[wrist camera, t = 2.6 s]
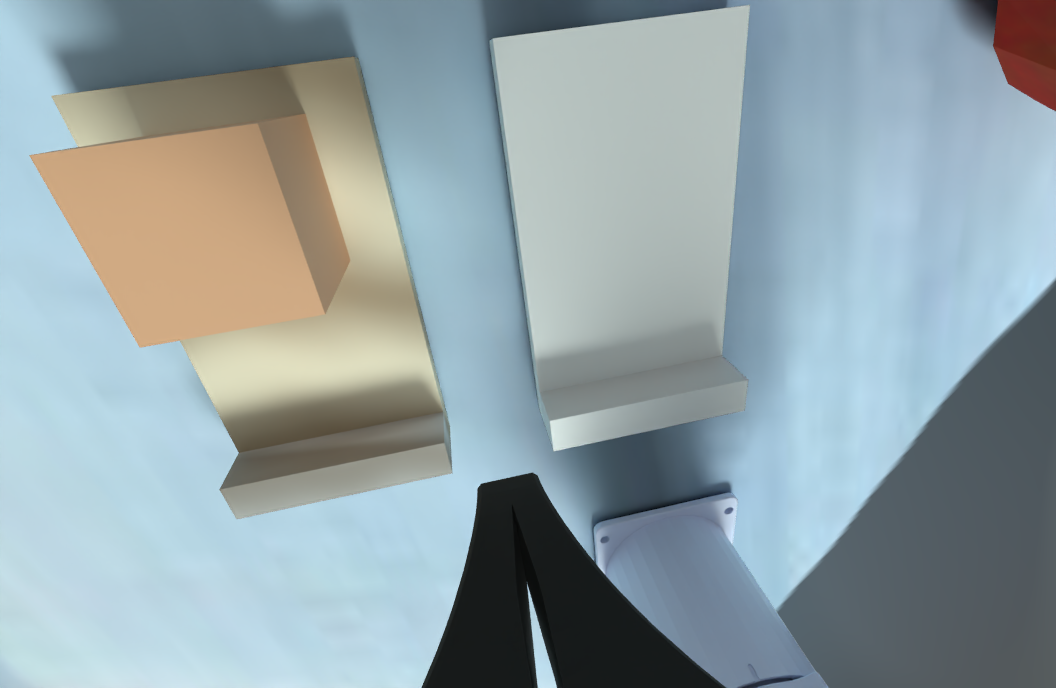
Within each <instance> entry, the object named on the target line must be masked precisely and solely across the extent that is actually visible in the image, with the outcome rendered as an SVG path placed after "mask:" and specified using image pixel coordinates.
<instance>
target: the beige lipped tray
mask: <svg viewBox="0 0 1056 688" xmlns="http://www.w3.org/2000/svg"><path fill="white" fill-rule="evenodd" d="M52 98H53V100H54V102H55V104H56V106H57V108H58V110H59V112H60V114H61V115H62V117H63V119H64V121H65V123H66V125H67V127H68V129H69V131H70V133H71V135H72V136H73V138H74V140H75V142H76V144H77V146H78V147H82V146H88V145H94V144H100V143H106V142H112V141H118V140H124V139H130V138H136V137H142V136H149V135H157V134H164V133H171V132H178V131H185V130H192V129H199V128H207V127H214V126H221V125H228V124H235V123H242V122H250V121H257V120H264V119H271V118H278V117H285V116H292V115H300V114H306V117H307V121H308V124H309V127H310V130H311V134H312V137H313V140H314V143H315V147H316V150H317V153H318V156H319V159H320V163H321V166H322V169H323V172H324V176H325V179H326V182H327V185H328V189H329V192H330V195H331V198H332V202H333V205H334V208H335V211H336V215H337V218H338V221H339V224H340V228H341V231H342V234H343V237H344V241H345V244H346V247H347V250H348V254H349V257H350V260H351V261H350V263H349V265H348V267H347V269H346V271H345V273H344V276H343V278H342V280H341V282H340V284H339V286H338V288H337V290H336V293H335V295H334V297H333V299H332V301H331V303H330V305H329V308H328V310H327V312H326V314H325V315H319V316H314V317H308V318H302V319H297V320H291V321H286V322H280V323H274V324H269V325H263V326H258V327H252V328H246V329H241V330H235V331H230V332H224V333H218V334H213V335H207V336H202V337H196V338H190V339H185V340H180V342H181V344H182V346H183V347H184V349H185V351H186V353H187V355H188V357H189V359H190V361H191V363H192V365H193V366H194V368H195V370H196V372H197V374H198V376H199V378H200V380H201V382H202V384H203V385H204V387H205V389H206V391H207V393H208V395H209V397H210V399H211V401H212V403H213V404H214V406H215V408H216V410H217V412H218V414H219V416H220V418H221V420H222V422H223V424H224V425H225V427H226V429H227V431H228V433H229V435H230V437H231V439H232V441H233V443H234V444H235V446H236V448H237V450H238V452H239V454H238V456H237V458H236V459H235V461H234V463H233V465H232V467H231V469H230V471H229V473H228V475H227V477H226V478H225V480H224V482H223V484H222V486H221V488H220V491H221V493H222V495H223V496H224V498H225V500H226V502H227V503H228V505H229V507H230V509H231V510H232V512H233V514H234V515H235V517H236V519H241V518H245V517H250V516H255V515H259V514H264V513H269V512H273V511H278V510H283V509H287V508H292V507H297V506H301V505H306V504H311V503H315V502H320V501H325V500H329V499H334V498H339V497H343V496H348V495H353V494H357V493H362V492H367V491H371V490H376V489H381V488H385V487H390V486H395V485H399V484H404V483H409V482H413V481H418V480H423V479H427V478H432V477H437V476H441V475H446V474H451V473H452V459H451V440H450V425H449V421H448V417H447V413H446V409H445V405H444V401H443V397H442V393H441V389H440V385H439V381H438V377H437V373H436V369H435V365H434V361H433V357H432V353H431V349H430V345H429V341H428V337H427V333H426V329H425V325H424V321H423V317H422V313H421V309H420V305H419V301H418V297H417V293H416V289H415V285H414V281H413V277H412V273H411V269H410V265H409V260H408V256H407V252H406V248H405V244H404V240H403V236H402V232H401V228H400V224H399V220H398V216H397V212H396V208H395V204H394V200H393V196H392V192H391V188H390V184H389V180H388V176H387V172H386V168H385V164H384V160H383V156H382V152H381V148H380V144H379V140H378V136H377V132H376V128H375V124H374V120H373V116H372V112H371V108H370V104H369V100H368V96H367V92H366V88H365V84H364V80H363V76H362V72H361V68H360V64H359V60H358V58H356V57H346V58H338V59H331V60H323V61H315V62H308V63H300V64H292V65H285V66H277V67H269V68H262V69H254V70H246V71H239V72H231V73H223V74H216V75H208V76H200V77H193V78H185V79H177V80H169V81H162V82H154V83H146V84H139V85H131V86H123V87H116V88H108V89H100V90H93V91H85V92H77V93H70V94H62V95H54V96H52Z"/></svg>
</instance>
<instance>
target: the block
mask: <svg viewBox="0 0 1056 688" xmlns="http://www.w3.org/2000/svg"><path fill="white" fill-rule="evenodd" d="M29 156H30V157H31V159H32V161H33V163H34V164H35V166H36V168H37V170H38V171H39V173H40V175H41V177H42V178H43V180H44V182H45V183H46V185H47V187H48V189H49V190H50V192H51V194H52V196H53V197H54V199H55V201H56V203H57V204H58V206H59V208H60V210H61V211H62V213H63V215H64V217H65V218H66V220H67V222H68V223H69V225H70V227H71V229H72V230H73V232H74V234H75V236H76V237H77V239H78V241H79V243H80V244H81V246H82V248H83V250H84V251H85V253H86V255H87V257H88V258H89V260H90V262H91V263H92V265H93V267H94V269H95V270H96V272H97V274H98V276H99V277H100V279H101V281H102V283H103V284H104V286H105V288H106V290H107V291H108V293H109V295H110V297H111V298H112V300H113V302H114V303H115V305H116V307H117V309H118V310H119V312H120V314H121V316H122V317H123V319H124V321H125V323H126V324H127V326H128V328H129V330H130V331H131V333H132V335H133V337H134V338H135V340H136V342H137V343H138V345H139V347H146V346H151V345H157V344H162V343H168V342H174V341H179V340H185V339H190V338H196V337H202V336H207V335H213V334H218V333H224V332H230V331H235V330H241V329H246V328H252V327H258V326H263V325H269V324H274V323H280V322H286V321H291V320H297V319H302V318H308V317H314V316H319V315H325V314H326V312H327V310H328V308H329V305H330V303H331V301H332V299H333V297H334V295H335V293H336V290H337V288H338V286H339V284H340V282H341V280H342V278H343V276H344V273H345V271H346V269H347V267H348V265H349V263H350V261H351V260H350V257H349V254H348V250H347V247H346V244H345V241H344V237H343V234H342V231H341V228H340V224H339V221H338V218H337V215H336V211H335V208H334V205H333V202H332V198H331V195H330V192H329V189H328V185H327V182H326V179H325V176H324V172H323V169H322V166H321V163H320V159H319V156H318V153H317V150H316V147H315V143H314V140H313V137H312V134H311V130H310V127H309V124H308V121H307V117H306V114H300V115H292V116H285V117H278V118H271V119H264V120H257V121H250V122H242V123H235V124H228V125H221V126H214V127H207V128H199V129H192V130H185V131H178V132H171V133H164V134H157V135H149V136H142V137H136V138H130V139H124V140H118V141H112V142H106V143H100V144H94V145H88V146H82V147H76V148H70V149H64V150H58V151H52V152H46V153H40V154H34V155H29Z"/></svg>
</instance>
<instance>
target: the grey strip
mask: <svg viewBox="0 0 1056 688" xmlns="http://www.w3.org/2000/svg"><path fill="white" fill-rule="evenodd" d="M749 9H750V5H745V6H738V7H730V8H722V9H715V10H707V11H699V12H692V13H684V14H676V15H669V16H661V17H653V18H646V19H638V20H630V21H622V22H615V23H607V24H599V25H592V26H584V27H576V28H569V29H561V30H553V31H546V32H538V33H530V34H523V35H515V36H507V37H500V38H493V39H491V40H490V41H489V44H490V51H491V58H492V66H493V73H494V80H495V88H496V95H497V103H498V110H499V117H500V125H501V132H502V139H503V147H504V154H505V161H506V169H507V176H508V184H509V191H510V198H511V206H512V213H513V220H514V228H515V235H516V242H517V250H518V257H519V265H520V272H521V279H522V287H523V294H524V301H525V309H526V316H527V323H528V331H529V338H530V346H531V353H532V360H533V368H534V375H535V382H536V390H537V397H538V404H539V409H540V412H541V415H542V418H543V421H544V424H545V427H546V430H547V433H548V436H549V439H550V442H551V445H552V448H553V451H558V450H563V449H568V448H572V447H577V446H582V445H586V444H591V443H596V442H600V441H605V440H610V439H614V438H619V437H624V436H628V435H633V434H638V433H642V432H647V431H652V430H656V429H661V428H666V427H670V426H675V425H680V424H684V423H689V422H694V421H698V420H703V419H708V418H712V417H717V416H722V415H726V414H731V413H736V412H740V411H745V405H746V396H747V387H748V379H747V378H746V377H745V376H744V375H743V374H741V373H740V372H739V371H738V370H737V369H736V368H735V367H734V366H733V365H732V364H731V363H730V362H728V361H727V360H726V359H725V358H724V357H723V356H722V348H723V336H724V323H725V311H726V298H727V285H728V273H729V260H730V248H731V235H732V223H733V210H734V198H735V185H736V173H737V160H738V147H739V135H740V122H741V110H742V97H743V85H744V72H745V60H746V47H747V34H748V22H749Z"/></svg>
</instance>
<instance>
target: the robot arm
mask: <svg viewBox="0 0 1056 688" xmlns="http://www.w3.org/2000/svg"><path fill="white" fill-rule="evenodd" d="M737 504H738V500H737V498H736V497H735V495H734V494H733V493H724V494H719V495H715V496H711V497H706V498H702V499H698V500H693V501H689V502H685V503H680V504H676V505H672V506H667V507H663V508H659V509H654V510H650V511H646V512H641V513H637V514H633V515H628V516H624V517H619V518H615V519H611V520H606V521H602V522H599V523H598V524H596V525H595V527H594V543H595V555H596V563H595V562H594V561H593V560H592V559H591V557H590V556H589V555H588V554H587V552H586V551H585V550H584V549H583V547H582V546H581V545H580V543H579V542H578V541H577V539H576V538H575V537H574V535H573V534H572V532H571V531H570V530H569V528H568V527H567V526H566V524H565V523H564V521H563V520H562V518H561V517H560V515H559V514H558V512H557V511H556V509H555V508H554V506H553V504H552V503H551V501H550V500H549V498H548V496H547V494H546V492H545V491H544V489H543V487H542V485H541V483H540V480H539V478H538V476H537V475H536V474H534V473H529V474H524V475H519V476H515V477H510V478H506V479H501V480H496V481H492V482H487V483H483V484H481V485H480V486H479V487H478V493H477V508H476V515H475V522H474V527H473V533H472V538H471V542H470V546H469V551H468V555H467V559H466V563H465V567H464V571H463V574H462V578H461V581H460V585H459V588H458V591H457V595H456V598H455V601H454V605H453V608H452V611H451V614H450V617H449V619H448V622H447V625H446V628H445V631H444V633H443V636H442V639H441V641H440V644H439V647H438V649H437V652H436V654H435V657H434V659H433V662H432V664H431V666H430V669H429V671H428V673H427V676H426V678H425V681H424V683H423V685H422V688H538V686H537V678H536V668H535V658H534V648H533V638H532V629H531V619H530V609H529V599H528V589H527V584H528V587H529V591H530V594H531V598H532V601H533V605H534V608H535V611H536V615H537V618H538V622H539V625H540V629H541V632H542V636H543V639H544V643H545V646H546V650H547V653H548V656H549V660H550V663H551V667H552V670H553V674H554V677H555V681H556V685H557V688H828V686H827V685H826V683H825V682H824V680H823V679H822V678H821V676H820V675H819V673H817V672H816V671H815V670H814V668H813V667H812V665H811V664H810V662H809V660H808V659H807V657H806V656H805V654H804V653H803V651H802V650H801V649H800V647H799V645H798V644H797V642H796V641H795V639H794V638H793V636H792V635H791V633H790V632H789V630H788V629H787V627H786V626H785V624H784V623H783V621H782V620H781V618H780V617H779V615H778V613H777V612H776V610H775V609H774V607H773V606H772V604H771V603H770V601H769V600H768V598H767V597H766V595H765V594H764V592H763V591H762V589H761V588H760V586H759V585H758V583H757V582H756V580H755V579H754V577H753V575H752V574H751V572H750V571H749V569H748V568H747V566H746V565H745V563H744V562H743V560H742V559H741V557H740V556H739V554H738V553H737V551H736V550H735V548H734V547H733V538H734V530H735V521H736V513H737Z"/></svg>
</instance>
